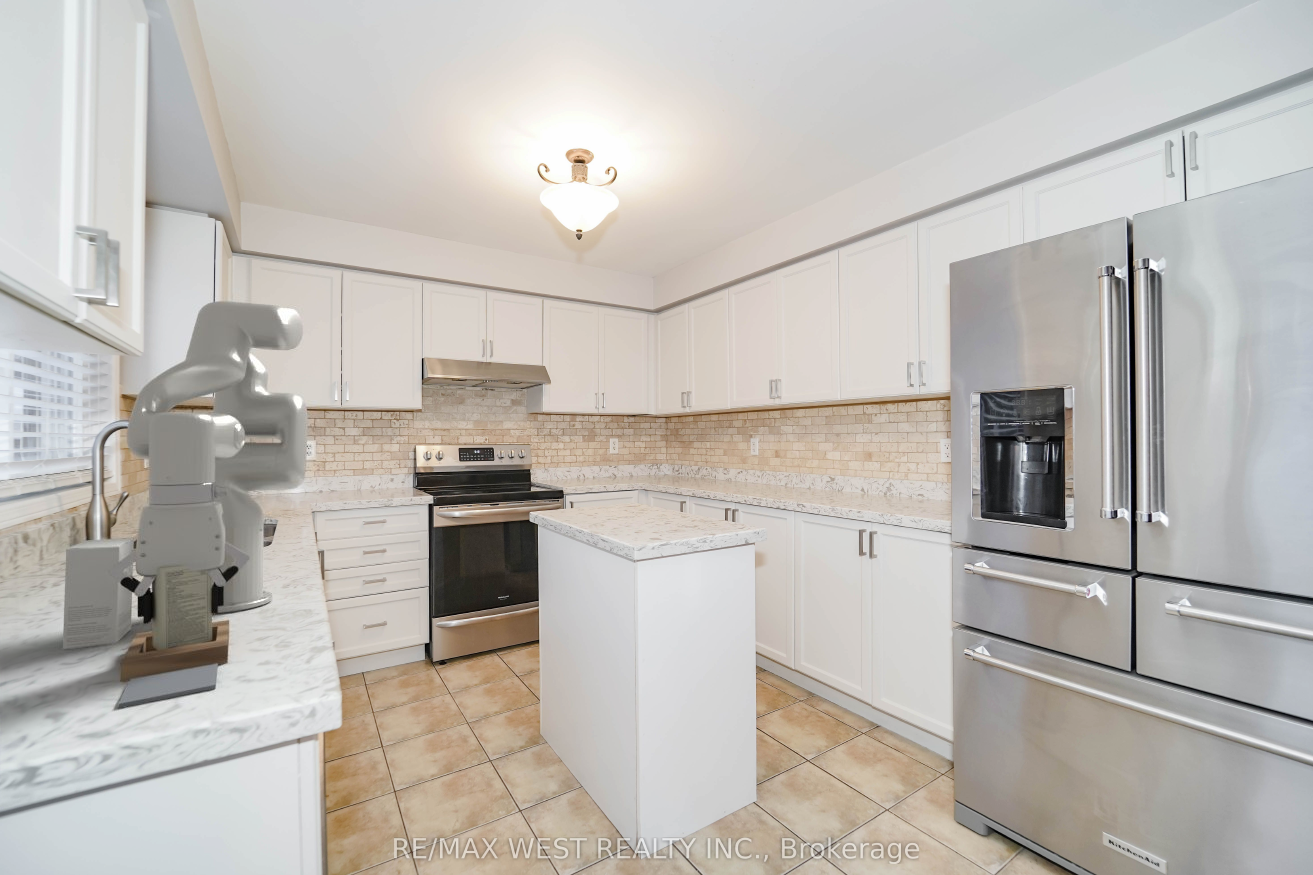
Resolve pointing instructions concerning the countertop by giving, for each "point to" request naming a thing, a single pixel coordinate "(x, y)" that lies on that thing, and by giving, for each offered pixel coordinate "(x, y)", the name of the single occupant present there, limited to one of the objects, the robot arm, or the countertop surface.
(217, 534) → the robot arm
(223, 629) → the hollow wooden block
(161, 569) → the skincare box
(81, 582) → the skincare box
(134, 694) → the slate mat
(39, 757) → the countertop surface
